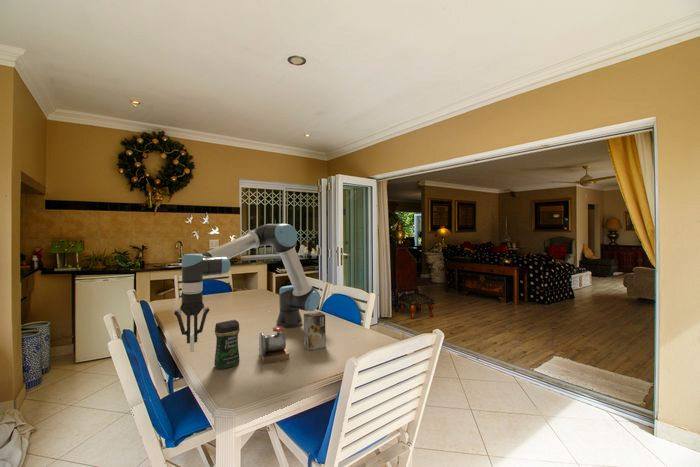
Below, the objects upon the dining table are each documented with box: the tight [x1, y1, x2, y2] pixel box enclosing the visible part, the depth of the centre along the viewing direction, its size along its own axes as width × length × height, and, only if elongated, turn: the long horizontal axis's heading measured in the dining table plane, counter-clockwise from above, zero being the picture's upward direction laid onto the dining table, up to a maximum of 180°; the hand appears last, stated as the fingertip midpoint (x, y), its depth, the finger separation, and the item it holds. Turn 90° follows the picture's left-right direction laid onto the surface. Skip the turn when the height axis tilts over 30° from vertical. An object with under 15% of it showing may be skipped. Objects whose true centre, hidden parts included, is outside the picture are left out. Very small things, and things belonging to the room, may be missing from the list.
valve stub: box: [258, 325, 290, 365], centre depth 142 cm, size 11×12×13 cm
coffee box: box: [303, 311, 327, 351], centre depth 154 cm, size 9×6×16 cm
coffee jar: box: [213, 319, 240, 370], centre depth 133 cm, size 10×8×19 cm
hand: (192, 350), depth 128 cm, fingers closed
